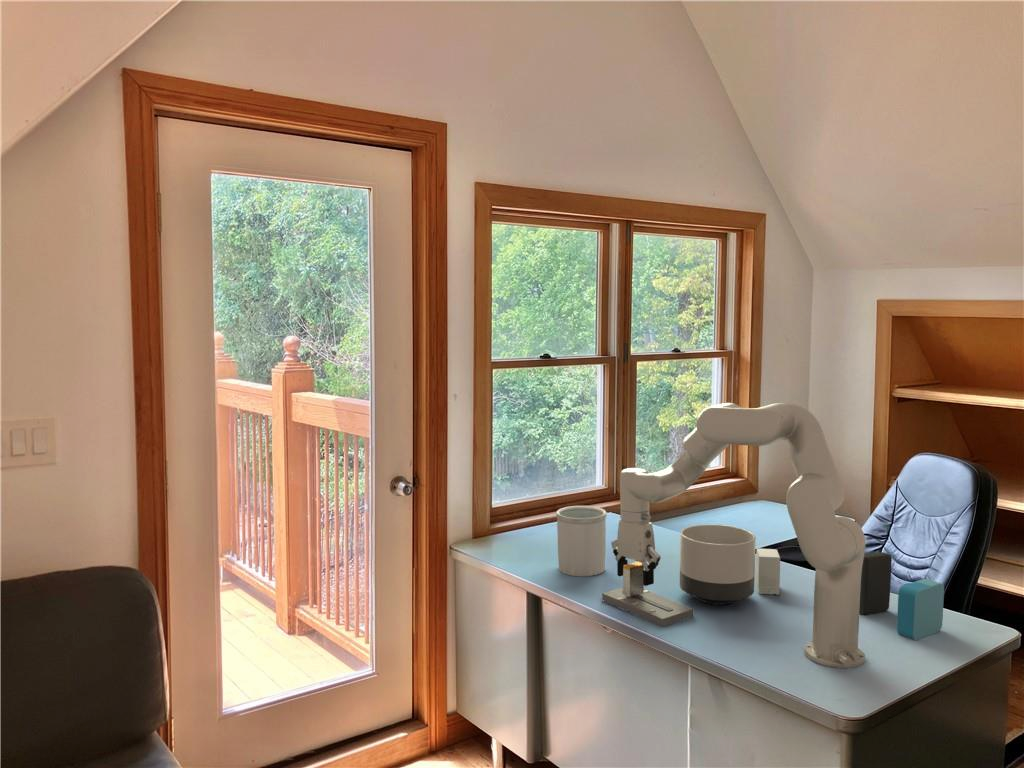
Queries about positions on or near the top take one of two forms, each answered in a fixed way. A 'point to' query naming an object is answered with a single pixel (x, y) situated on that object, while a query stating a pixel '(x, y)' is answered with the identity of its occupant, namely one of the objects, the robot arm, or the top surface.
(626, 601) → the console board
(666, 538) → the top surface
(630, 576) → the fader tab
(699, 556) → the planter
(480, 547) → the top surface
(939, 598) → the data package
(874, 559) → the card reader
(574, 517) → the utensil holder
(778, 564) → the small box
